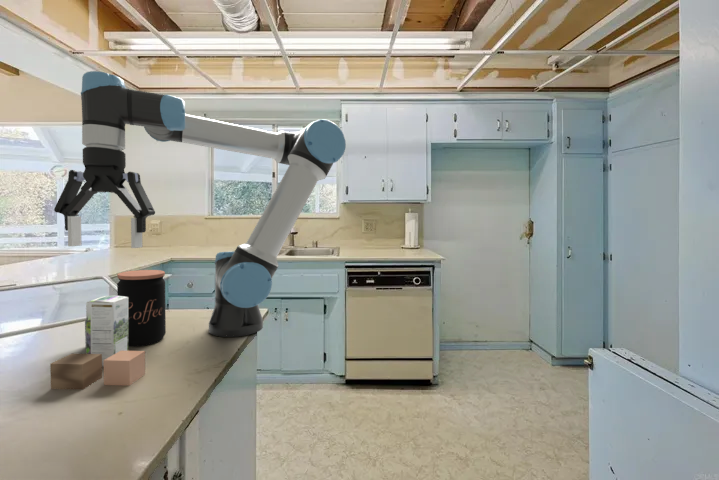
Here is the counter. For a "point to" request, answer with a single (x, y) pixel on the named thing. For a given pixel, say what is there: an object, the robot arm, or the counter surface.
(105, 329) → the syrup box
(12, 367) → the counter surface
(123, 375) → the terracotta block
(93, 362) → the walnut block
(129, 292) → the coffee jar
